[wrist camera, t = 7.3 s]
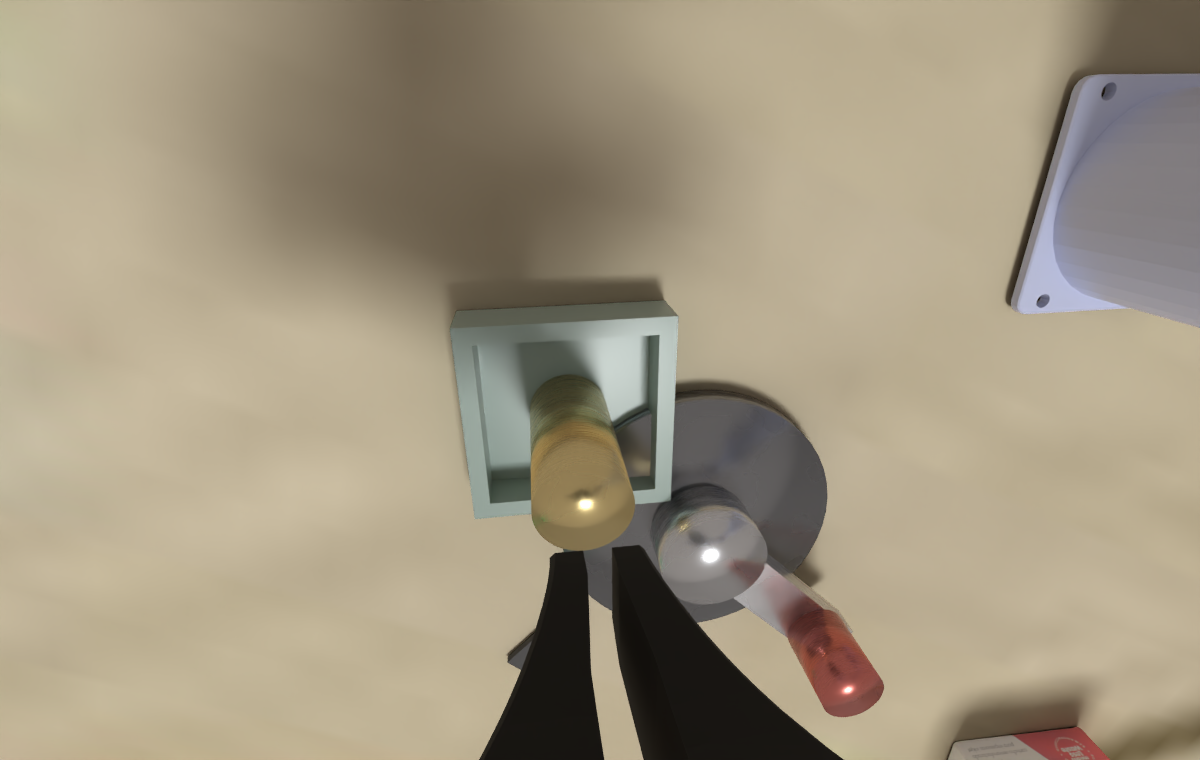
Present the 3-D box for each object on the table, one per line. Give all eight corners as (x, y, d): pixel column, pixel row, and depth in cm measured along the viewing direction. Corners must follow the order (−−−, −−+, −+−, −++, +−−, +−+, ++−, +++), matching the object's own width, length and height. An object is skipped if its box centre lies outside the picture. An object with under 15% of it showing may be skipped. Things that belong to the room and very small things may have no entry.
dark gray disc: (833, 380, 22) (847, 391, 21) (798, 593, 26) (807, 609, 25) (553, 400, 21) (554, 412, 20) (565, 619, 25) (567, 638, 24)
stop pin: (614, 382, 20) (647, 473, 15) (595, 448, 21) (619, 556, 16) (539, 367, 20) (544, 456, 14) (522, 435, 21) (521, 543, 15)
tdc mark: (566, 603, 25) (567, 609, 24) (586, 616, 25) (587, 621, 25) (507, 656, 25) (507, 662, 25) (527, 667, 26) (527, 673, 26)
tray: (664, 300, 20) (678, 316, 18) (658, 473, 22) (670, 501, 21) (456, 310, 19) (449, 328, 17) (478, 488, 22) (474, 519, 20)
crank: (629, 535, 22) (652, 621, 18) (703, 468, 21) (744, 543, 17) (786, 647, 26) (834, 739, 22) (854, 595, 25) (916, 680, 21)
